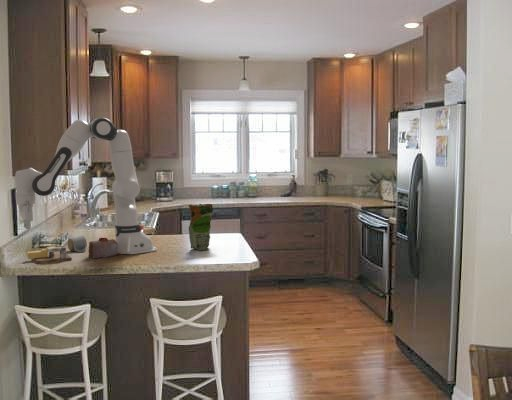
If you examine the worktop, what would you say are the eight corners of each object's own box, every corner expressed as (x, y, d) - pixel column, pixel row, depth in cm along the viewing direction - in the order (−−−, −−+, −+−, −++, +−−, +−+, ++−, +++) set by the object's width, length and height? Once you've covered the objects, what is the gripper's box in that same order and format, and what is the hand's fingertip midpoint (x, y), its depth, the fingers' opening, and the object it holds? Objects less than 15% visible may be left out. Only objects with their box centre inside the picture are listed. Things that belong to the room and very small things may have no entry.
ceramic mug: (66, 250, 297) (66, 236, 296) (81, 248, 302) (80, 234, 302) (75, 253, 289) (75, 239, 288) (90, 251, 295) (89, 237, 294)
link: (55, 254, 278) (55, 246, 278) (57, 256, 274) (57, 247, 273) (27, 257, 272) (26, 248, 271) (28, 259, 267) (27, 250, 267)
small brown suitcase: (113, 253, 288) (112, 235, 287) (119, 256, 281) (119, 236, 280) (87, 257, 279) (86, 237, 278) (93, 259, 273) (93, 239, 272)
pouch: (214, 248, 302) (213, 202, 300) (206, 252, 291) (206, 204, 289) (195, 247, 305) (194, 201, 303) (186, 251, 294) (186, 204, 292)
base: (66, 255, 284) (65, 242, 283) (71, 260, 271) (71, 247, 271) (32, 258, 276) (32, 245, 276) (36, 263, 264) (36, 250, 263)
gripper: (35, 202, 266) (36, 230, 267) (30, 198, 284) (31, 225, 285) (21, 202, 263) (22, 231, 264) (16, 199, 281) (17, 226, 282)
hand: (27, 228), depth 275 cm, fingers open, 5 cm apart
